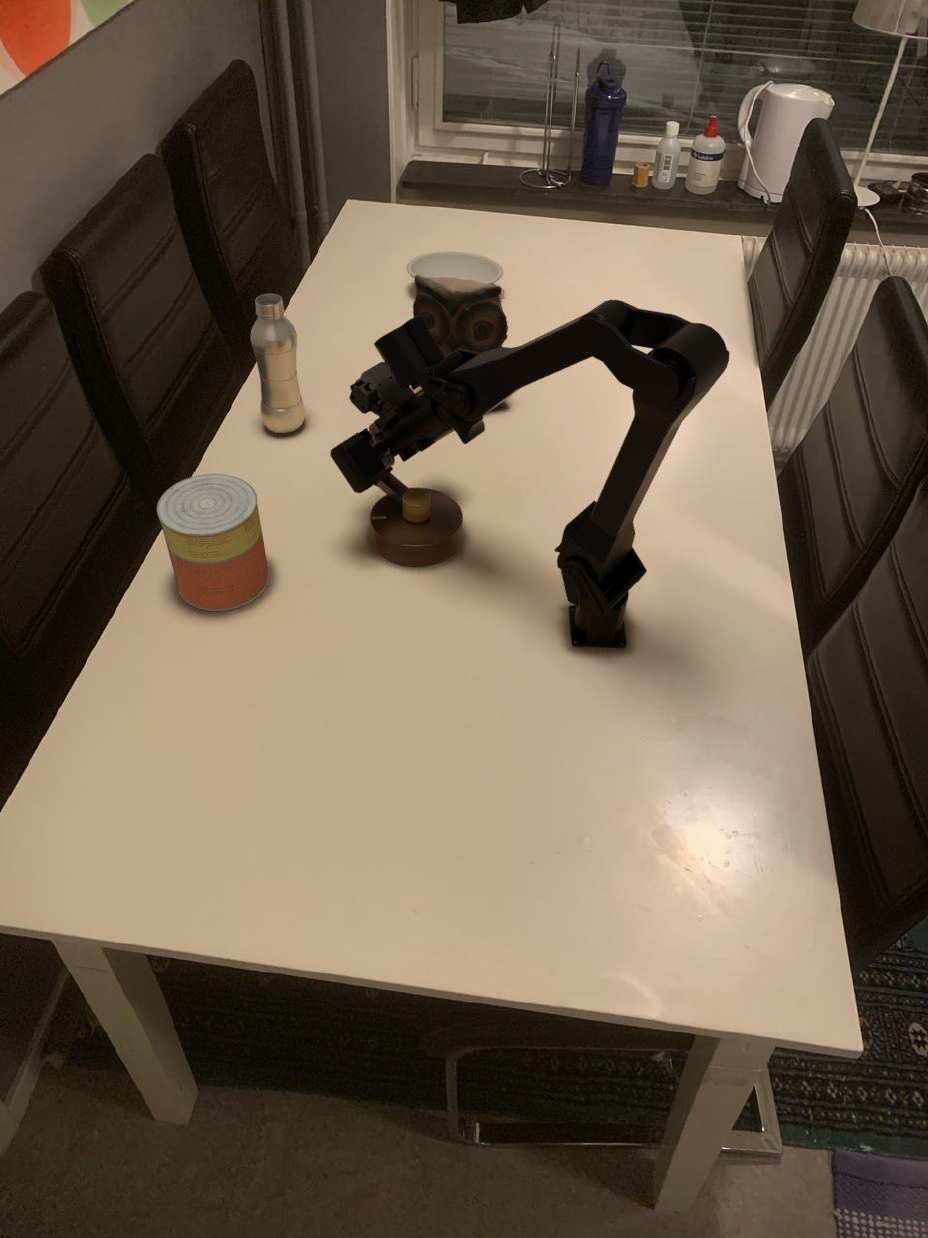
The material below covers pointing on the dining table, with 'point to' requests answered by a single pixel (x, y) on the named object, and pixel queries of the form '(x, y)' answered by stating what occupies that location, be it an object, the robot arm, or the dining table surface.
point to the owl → (461, 314)
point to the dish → (455, 267)
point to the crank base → (417, 531)
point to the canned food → (214, 541)
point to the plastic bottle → (277, 365)
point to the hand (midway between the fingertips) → (367, 456)
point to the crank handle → (404, 493)
